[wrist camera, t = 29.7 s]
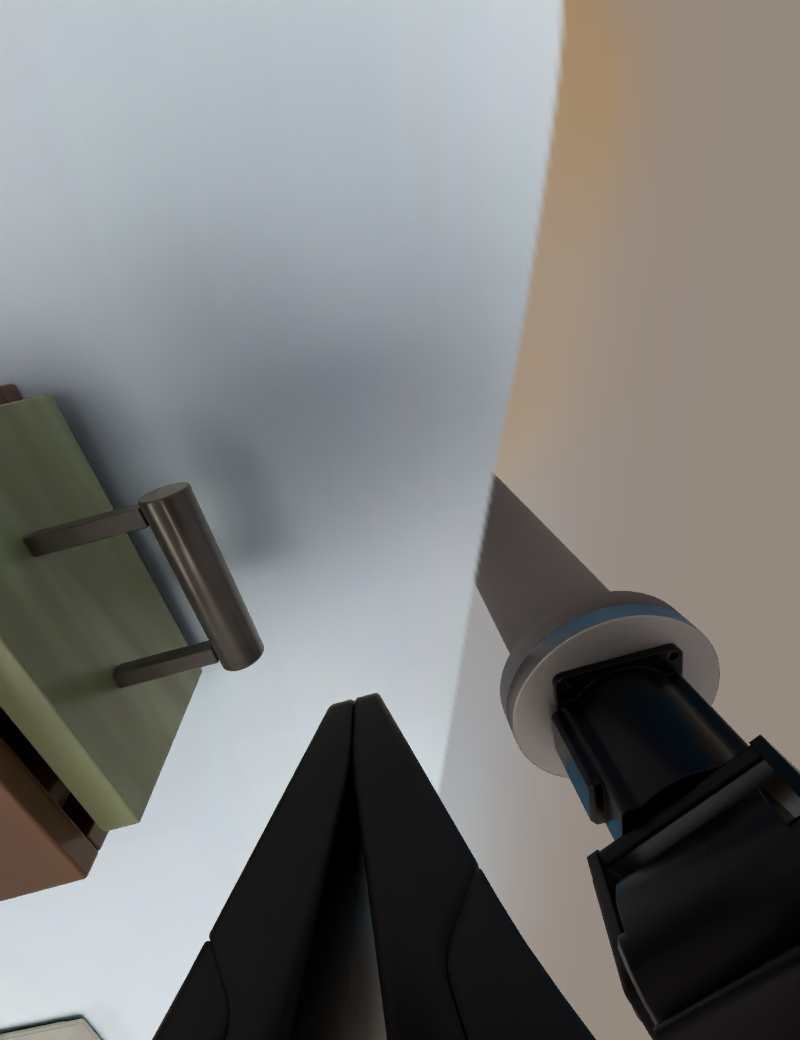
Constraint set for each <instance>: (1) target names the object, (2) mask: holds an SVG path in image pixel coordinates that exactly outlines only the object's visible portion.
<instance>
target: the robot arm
mask: <svg viewBox="0 0 800 1040" xmlns="http://www.w3.org/2000/svg"><path fill="white" fill-rule="evenodd" d="M563 682H564V683H563ZM552 687H553V694H554V702H555V709H556V711H555V712H553V714H552V716H551V721H552V728H553V735H554V743H555V749H556V751H557V753H558V755H559V757H560V759H561V761H562V763H563V765H564V767H565V769H566V772H567V774H568V776H569V778H570V780H571V782H572V784H573V786H574V788H575V790H576V792H577V794H578V796H579V798H580V800H581V802H582V804H583V806H584V808H585V810H586V812H587V814H588V816H589V818H590V820H591V821H593V822H594V823H595V824H601V823H606V825H607V827H608V829H609V831H610V833H611V834H612V837H613V838H614V840H615V841H614V842H612V843H611V844H609V845H608V846H607V847H605V848H604V849H602V850H601V851H599V850H596V851H595V852H593V853H592V854H591V855H589V856H588V857H587V860H588V863H589V867H590V871H591V875H592V878H593V884H594V888H595V891H596V895H597V898H598V902H599V905H600V909H601V913H602V916H603V920H604V923H605V927H606V930H607V934H608V937H609V941H610V945H611V948H612V951H613V955H614V959H615V962H616V966H617V969H618V973H619V976H620V980H621V983H622V987H623V990H624V993H625V995H626V997H627V999H628V1000H629V1002H630V1003H631V1005H632V1007H633V1010H634V1012H635V1014H636V1015H637V1017H638V1018H639V1020H640V1021H641V1022H642V1023H643V1024H644V1026H645V1028H646V1029H647V1031H648V1033H649V1035H650V1036H651V1037H652V1039H653V1040H800V771H799V770H798V769H797V768H796V767H795V766H793V765H792V764H791V763H790V762H789V761H788V760H787V759H786V758H785V757H784V756H783V755H782V754H781V753H780V752H779V751H778V750H777V749H775V748H774V747H773V746H772V745H771V744H770V743H769V742H768V741H767V740H766V739H765V738H764V737H762V736H761V735H759V736H758V737H756V738H755V739H753V740H752V741H751V742H749V743H750V746H748V745H747V744H746V742H744V740H743V739H742V738H741V737H740V736H739V735H738V734H737V733H736V732H735V731H734V730H733V729H732V728H731V727H730V726H729V725H728V724H727V722H725V721H724V720H723V718H722V717H721V716H720V715H719V714H718V713H717V712H716V711H715V710H714V709H713V708H712V707H711V706H710V705H709V704H708V703H707V701H706V700H705V699H704V698H703V697H702V696H701V695H700V694H699V693H698V692H697V691H696V690H695V689H694V688H693V687H692V686H691V685H690V684H689V683H688V682H687V680H686V679H685V678H684V677H683V651H682V650H681V649H680V648H679V647H678V646H677V645H676V644H673V643H668V644H664V645H661V646H657V647H653V648H649V649H646V650H642V651H638V652H634V653H631V654H627V655H623V656H619V657H616V658H612V659H608V660H605V661H601V662H597V663H593V664H590V665H586V666H582V667H578V668H575V669H571V670H567V671H564V672H560V673H558V674H556V675H555V676H554V677H553V679H552ZM209 938H210V941H206V942H205V943H204V945H203V947H202V949H201V951H200V953H199V954H198V956H197V958H196V960H195V962H194V964H193V966H192V968H191V970H190V972H189V973H188V975H187V977H186V979H185V981H184V983H183V985H182V986H181V988H180V990H179V992H178V994H177V995H176V997H175V999H174V1001H173V1003H172V1005H171V1006H170V1008H169V1010H168V1012H167V1014H166V1015H165V1017H164V1019H163V1021H162V1023H161V1025H160V1026H159V1028H158V1030H157V1032H156V1034H155V1035H154V1037H153V1039H152V1040H596V1039H595V1038H594V1036H593V1035H592V1034H591V1032H590V1031H589V1030H588V1028H587V1027H586V1026H585V1024H584V1023H583V1022H582V1020H581V1019H580V1018H579V1016H578V1015H577V1014H576V1012H575V1011H574V1010H573V1008H572V1007H571V1005H570V1004H569V1003H568V1001H567V1000H566V999H565V997H564V996H563V995H562V994H561V992H560V990H559V989H558V988H557V986H556V985H555V983H554V982H553V981H552V979H551V978H550V976H549V975H548V973H547V972H546V971H545V969H544V968H543V966H542V965H541V964H540V962H539V961H538V959H537V958H536V956H535V955H534V954H533V952H532V951H531V949H530V948H529V947H528V945H527V944H526V942H525V941H524V939H523V937H522V936H521V934H520V933H519V931H518V929H517V928H516V926H515V925H514V923H513V922H512V920H511V918H510V917H509V915H508V913H507V912H506V910H505V909H504V907H503V905H502V904H501V902H500V901H499V899H498V897H497V896H496V894H495V892H494V891H493V889H492V887H491V885H490V883H489V882H488V880H487V878H486V877H485V875H484V873H483V871H482V870H481V869H479V867H478V864H477V862H476V860H475V858H474V857H473V855H472V853H471V851H470V850H469V848H468V846H467V844H466V843H465V841H464V839H463V837H462V836H461V834H460V832H459V831H458V829H457V827H456V825H455V824H454V822H453V820H452V819H451V817H450V815H449V814H448V812H447V810H446V808H445V807H444V805H443V803H442V801H441V800H440V798H439V796H438V794H437V793H436V791H435V789H434V788H433V786H432V784H431V782H430V781H429V779H428V777H427V776H426V774H425V772H424V770H423V769H422V767H421V765H420V764H419V762H418V760H417V758H416V757H415V755H414V753H413V751H412V750H411V748H410V746H409V745H408V743H407V741H406V739H405V738H404V736H403V734H402V733H401V731H400V729H399V727H398V726H397V724H396V722H395V720H394V719H393V717H392V715H391V714H390V712H389V710H388V708H387V707H386V705H385V703H384V702H383V700H382V698H381V696H380V695H379V694H378V693H373V694H370V695H366V696H362V697H359V698H357V699H356V700H355V701H353V700H347V701H343V702H340V703H336V704H333V705H331V706H330V707H329V709H328V710H327V712H326V714H325V716H324V718H323V720H322V722H321V724H320V725H319V727H318V729H317V731H316V733H315V735H314V737H313V739H312V741H311V743H310V744H309V746H308V748H307V750H306V752H305V754H304V756H303V758H302V760H301V761H300V763H299V765H298V767H297V769H296V771H295V773H294V775H293V777H292V779H291V780H290V782H289V784H288V786H287V788H286V790H285V792H284V794H283V796H282V798H281V799H280V801H279V803H278V805H277V807H276V809H275V811H274V813H273V815H272V816H271V818H270V820H269V822H268V824H267V826H266V828H265V830H264V832H263V834H262V835H261V837H260V839H259V841H258V843H257V845H256V847H255V849H254V851H253V853H252V854H251V856H250V858H249V860H248V862H247V864H246V866H245V868H244V870H243V871H242V873H241V875H240V877H239V879H238V881H237V883H236V885H235V887H234V889H233V890H232V892H231V894H230V896H229V898H228V900H227V902H226V904H225V906H224V908H223V909H222V911H221V913H220V915H219V917H218V919H217V921H216V923H215V925H214V927H213V928H212V930H211V932H210V935H209Z"/></svg>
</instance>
